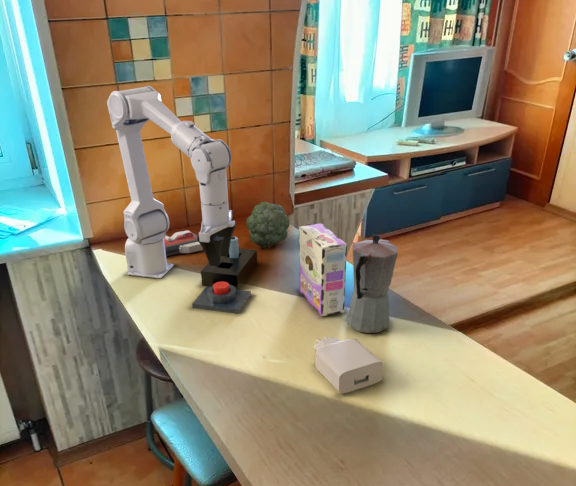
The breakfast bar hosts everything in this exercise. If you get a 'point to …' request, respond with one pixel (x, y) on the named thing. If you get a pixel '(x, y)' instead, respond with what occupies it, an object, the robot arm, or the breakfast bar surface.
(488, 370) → the breakfast bar surface
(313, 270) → the candy box
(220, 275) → the holder
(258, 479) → the breakfast bar surface
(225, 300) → the grey button base
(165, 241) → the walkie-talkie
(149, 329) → the breakfast bar surface
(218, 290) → the power button
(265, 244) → the vegetable
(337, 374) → the charger
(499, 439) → the breakfast bar surface
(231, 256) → the light blue tube
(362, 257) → the moka pot
